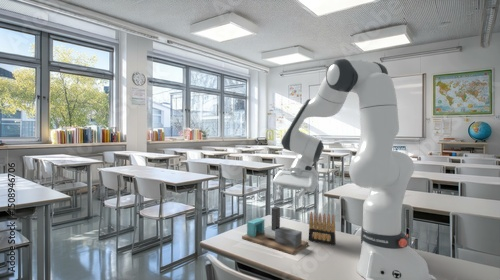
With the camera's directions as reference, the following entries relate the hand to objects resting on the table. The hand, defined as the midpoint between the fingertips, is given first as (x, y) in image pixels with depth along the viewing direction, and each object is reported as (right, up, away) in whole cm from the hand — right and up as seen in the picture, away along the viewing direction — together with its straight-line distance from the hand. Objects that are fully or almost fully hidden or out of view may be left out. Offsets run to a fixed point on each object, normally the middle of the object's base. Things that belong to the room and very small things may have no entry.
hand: (287, 196), depth 126 cm
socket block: (-14, -17, 0) cm, 22 cm away
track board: (-6, -17, -6) cm, 19 cm away
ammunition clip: (+13, -18, -6) cm, 23 cm away
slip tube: (-4, -16, -8) cm, 18 cm away
